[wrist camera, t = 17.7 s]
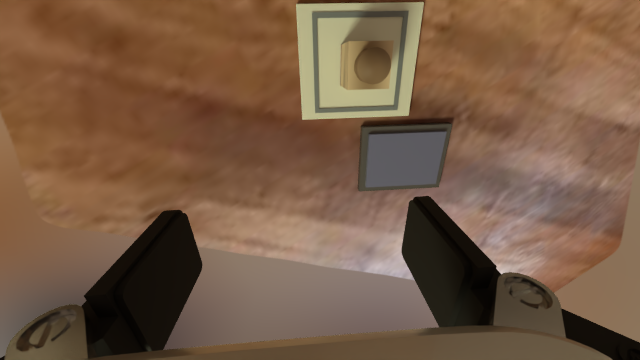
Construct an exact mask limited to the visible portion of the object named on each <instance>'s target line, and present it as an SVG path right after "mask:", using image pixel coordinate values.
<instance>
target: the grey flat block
mask: <svg viewBox="0 0 640 360" xmlns="http://www.w3.org/2000/svg"><path fill="white" fill-rule="evenodd" d="M451 128H452V124H451V123H425V124H400V125H375V126H361V137H360V156H359V176H358V190H359V191H375V190H394V189H413V188H432V187H439V183H440V178H441V174H442V169H443V164H444V160H445V155H446V151H447V146H448V141H449V137H450V132H451Z"/></svg>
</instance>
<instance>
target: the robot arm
mask: <svg viewBox="0 0 640 360" xmlns="http://www.w3.org/2000/svg"><path fill="white" fill-rule="evenodd" d="M402 255H403V258H404V260H405V262H406V264H407V266H408V268H409V270H410V271H411V273H412V275H413V277H414V279H415V281H416V283H417V285H418V287H419V289H420V291H421V293H422V295H423V296H424V298H425V300H426V302H427V304H428V306H429V308H430V310H431V312H432V314H433V316H434V318H435V319H436V321H437V323H438V325H439V328H421V329H408V330H396V331H382V332H370V333H357V334H344V335H332V336H319V337H307V338H295V339H284V340H272V341H260V342H248V343H236V344H225V345H214V346H203V347H191V348H180V349H169V350H163V349H164V347H165V344H166V343H167V341H168V338H169V336H170V334H171V332H172V330H173V328H174V326H175V324H176V322H177V320H178V318H179V316H180V314H181V312H182V310H183V307H184V305H185V303H186V301H187V299H188V297H189V295H190V293H191V291H192V289H193V287H194V285H195V283H196V281H197V279H198V277H199V274H200V272H201V270H202V261H201V258H200V255H199V252H198V248H197V245H196V242H195V239H194V236H193V232H192V229H191V226H190V223H189V220H188V217H187V215H186V214H185V213H183V212H182V211H181V210H169V211H163V212H162V213H161V214H160V215H159V216H158V217H157V218H156V219H155V221H154V222H153V223H152V224H151V225H150V226H149V227H148V228H147V229H146V230H145V231H144V232H143V233H142V234H141V235H140V237H139V238H138V239H137V240H136V241H135V242H134V243H133V244H132V245H131V246H130V247H129V248H128V249H127V250H126V251H125V253H124V254H123V255H122V256H121V257H120V258H119V259H118V260H117V261H116V262H115V263H114V264H113V265H112V266H111V268H110V269H109V270H108V271H107V272H106V273H105V274H104V275H103V276H102V277H101V278H100V279H99V280H98V281H97V282H96V284H95V285H94V286H93V287H92V288H91V289H90V290H89V291H88V292H87V293H86V294H85V295H84V297H85V298H86V300H87V301H86V302H85V303H84V304H83V305H82V306H79V305H76V304H74V305H72V304H71V305H70V304H69V305H65V306H61V307H58V308H55V309H53V310H50V311H48V312H46V313H44V314H42V315H40V316H39V317H37V318H35V319H34V320H33V321H31V322H30V323H28V324H27V325H26V326H24V327H23V328H22V329H21V330H20V331H19V332H18V333H17V334H16V335H15V336H14V337H13V339H12V340H11V341H10V343H9V345H8V347H7V350H6V355H5V356H3V357H2V358H0V360H640V343H639V342H637V341H635V340H632V339H630V338H628V337H625V336H623V335H621V334H619V333H616V332H614V331H612V330H609V329H607V328H605V327H602V326H600V325H598V324H596V323H593V322H591V321H589V320H587V319H584V318H582V317H580V316H577V315H575V314H573V313H571V312H568V311H566V310H564V309H561V306H560V302H559V300H558V298H557V297H556V296H555V294H554V293H553V292H552V291H551V290H550V289H549V288H548V287H546V286H545V285H544V284H542V283H541V282H539V281H537V280H536V279H533V278H531V277H529V276H526V275H523V274H519V273H512V272H509V273H503V274H502V275H501V274H500V273H499V271H498V270H497V269H496V267H497V266H496V265H495V264H494V263H493V262H492V261H491V260H490V259H489V258H488V257H487V256H486V255H485V254H484V253H483V252H482V251H481V250H480V249H479V248H478V246H477V245H476V244H475V243H474V242H473V241H472V240H471V239H470V238H469V237H468V236H467V235H466V234H465V233H464V232H463V231H462V230H461V229H460V228H459V227H458V226H457V225H456V223H455V222H454V221H453V220H452V219H451V218H450V217H449V216H448V215H447V214H446V213H445V212H444V211H443V210H442V209H441V208H440V207H439V206H438V205H437V204H436V203H435V202H434V200H433V199H432V198H431V197H429V196H421V197H414V199H413V200H411V201H410V202H409V207H408V213H407V219H406V225H405V232H404V238H403V244H402Z"/></svg>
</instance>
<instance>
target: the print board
mask: <svg viewBox="0 0 640 360" xmlns="http://www.w3.org/2000/svg"><path fill="white" fill-rule="evenodd" d="M423 6H424V2H398V3H330V4H296V12H297V31H298V49H299V67H300V85H301V103H302V120H304V119H331V118H357V117H384V116H409V109H410V102H411V94H412V87H413V80H414V72H415V65H416V58H417V50H418V43H419V35H420V28H421V21H422V13H423ZM393 40H394V43H393V53H392V64H391V74H390V84H389V89H365V90H347V89H345V88H343V87H342V86H340V70H341V45H342V44H344V43H346V42H348V41H393Z"/></svg>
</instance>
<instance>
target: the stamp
mask: <svg viewBox="0 0 640 360" xmlns="http://www.w3.org/2000/svg"><path fill="white" fill-rule="evenodd" d="M393 43H394V40H393V41H348V42H346V43H344V44H342V45H341V70H340V86H342V87H343V88H345V89H347V90H365V89H389V84H390V74H391V64H392V53H393Z"/></svg>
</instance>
